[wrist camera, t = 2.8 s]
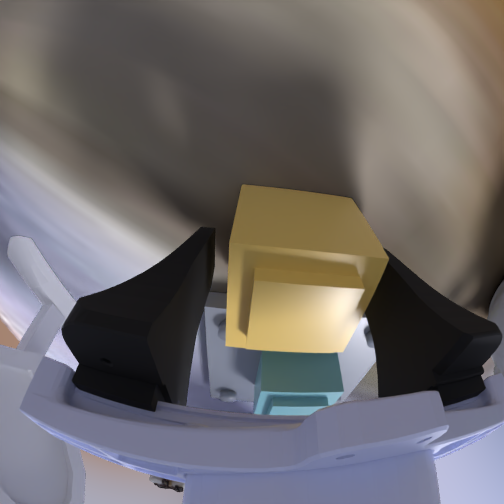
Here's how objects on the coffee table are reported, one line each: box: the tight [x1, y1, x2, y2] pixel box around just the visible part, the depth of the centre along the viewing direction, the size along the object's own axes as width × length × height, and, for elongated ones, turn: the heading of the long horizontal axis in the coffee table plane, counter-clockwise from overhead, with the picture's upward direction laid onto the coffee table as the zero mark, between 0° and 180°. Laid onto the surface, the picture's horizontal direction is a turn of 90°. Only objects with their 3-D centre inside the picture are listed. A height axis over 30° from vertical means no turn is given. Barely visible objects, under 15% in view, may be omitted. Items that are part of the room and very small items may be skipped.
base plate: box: [204, 292, 376, 415], centre depth 17 cm, size 12×12×5 cm
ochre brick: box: [225, 184, 389, 353], centre depth 11 cm, size 5×5×5 cm
